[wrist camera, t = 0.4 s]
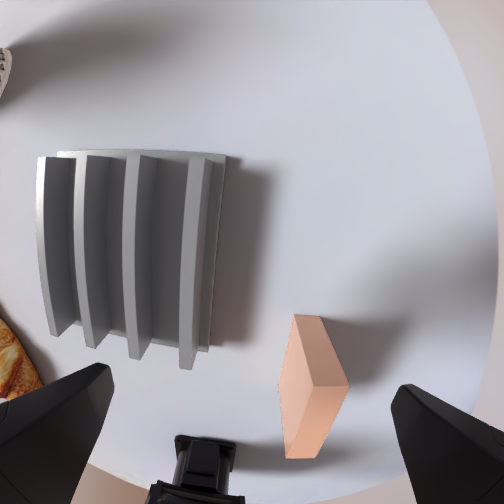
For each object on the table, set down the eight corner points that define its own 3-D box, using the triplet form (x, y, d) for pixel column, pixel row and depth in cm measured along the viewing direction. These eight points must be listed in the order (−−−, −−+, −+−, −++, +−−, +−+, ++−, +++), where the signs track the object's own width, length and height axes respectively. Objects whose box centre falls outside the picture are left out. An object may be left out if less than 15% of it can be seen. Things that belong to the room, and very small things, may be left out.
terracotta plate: (300, 385, 22) (315, 457, 14) (278, 384, 22) (285, 458, 14) (319, 316, 20) (349, 385, 13) (293, 314, 20) (313, 386, 12)
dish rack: (209, 345, 21) (201, 377, 17) (70, 316, 21) (45, 337, 17) (226, 156, 17) (219, 149, 13) (64, 152, 17) (32, 150, 13)
